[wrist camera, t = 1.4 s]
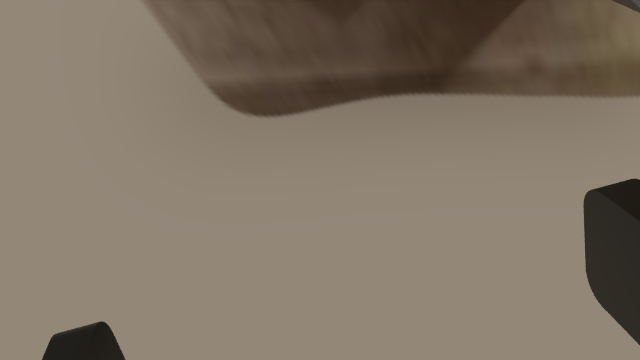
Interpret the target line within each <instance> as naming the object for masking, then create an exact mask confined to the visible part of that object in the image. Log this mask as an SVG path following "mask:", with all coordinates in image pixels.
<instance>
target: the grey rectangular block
mask: <svg viewBox="0 0 640 360" xmlns="http://www.w3.org/2000/svg"><path fill="white" fill-rule="evenodd" d="M613 1H615V2H617V3H619V4H621V5H624V6H626V7H628V8H630V9H633V10H635V11H637V12H639V13H640V0H613Z"/></svg>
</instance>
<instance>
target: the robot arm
mask: <svg viewBox="0 0 640 360" xmlns="http://www.w3.org/2000/svg"><path fill="white" fill-rule="evenodd" d="M584 230H585V258H586V273H587V278H588V281H589V284H590V287H591V289H592V292H593V293H594V296H595V297H596V299H597V300H598V302H599V303H600V304H601V306H602V307H603V308H604V309H605V310H606V311H607V312H608V313H609V314H610V315H611V316H612V317H613V318H614V319H615V320H616V321H617V322H618V323H619V324H620V325H621V326H622V327H623V328H624V329H625V330H626V331H627V332H628V333H629V334H630V336H631V337H632V338H633V339H634V340H635V341H636V342H638V344H639V345H640V180H639V179H630V180H626V181H623V182H619V183H616V184H612V185H608V186H604V187H601V188H597V189H593V190H590V191H588V192H587V194H586V195H585V198H584ZM42 360H125V358H124V356H123V353H122V351H121V349H120V347H119V345H118V343H117V341H116V338H115V336H114V334H113V332H112V330H111V329H110V327H109V326H108V325H107V324H106V323H105V322H97V323H94V324H90V325H87V326H83V327H79V328H75V329H72V330H68V331H64V332H61V333H57V334H55V335H53V337H52V338H51V340H50V342H49V344H48V347H47V349H46V351H45V354H44V356H43V359H42Z"/></svg>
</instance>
